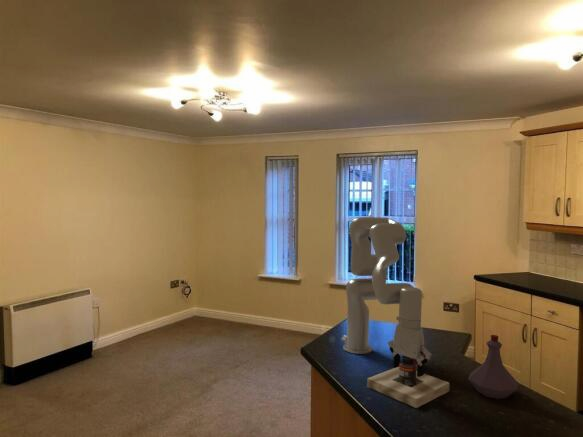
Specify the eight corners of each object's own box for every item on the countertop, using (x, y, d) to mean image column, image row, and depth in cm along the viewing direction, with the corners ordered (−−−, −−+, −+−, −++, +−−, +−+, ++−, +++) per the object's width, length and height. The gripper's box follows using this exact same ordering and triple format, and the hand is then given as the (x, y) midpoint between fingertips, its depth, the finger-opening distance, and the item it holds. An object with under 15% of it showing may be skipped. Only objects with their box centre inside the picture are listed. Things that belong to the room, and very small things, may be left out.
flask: (457, 390, 149) (459, 333, 149) (482, 379, 159) (484, 326, 159) (504, 408, 136) (507, 346, 136) (528, 395, 146) (530, 338, 146)
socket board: (367, 386, 151) (367, 378, 151) (400, 373, 164) (401, 365, 164) (416, 408, 135) (416, 398, 135) (449, 391, 148) (449, 382, 148)
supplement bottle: (412, 384, 153) (412, 353, 153) (418, 392, 147) (419, 359, 147) (396, 385, 152) (396, 354, 152) (402, 392, 147) (403, 360, 146)
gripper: (383, 319, 153) (381, 366, 154) (425, 330, 140) (424, 382, 140) (395, 316, 158) (394, 361, 158) (438, 326, 145) (436, 376, 145)
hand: (408, 371), depth 149 cm, fingers open, 9 cm apart
